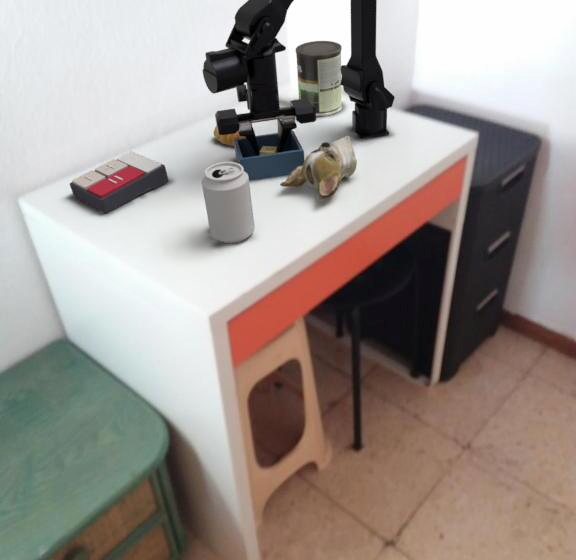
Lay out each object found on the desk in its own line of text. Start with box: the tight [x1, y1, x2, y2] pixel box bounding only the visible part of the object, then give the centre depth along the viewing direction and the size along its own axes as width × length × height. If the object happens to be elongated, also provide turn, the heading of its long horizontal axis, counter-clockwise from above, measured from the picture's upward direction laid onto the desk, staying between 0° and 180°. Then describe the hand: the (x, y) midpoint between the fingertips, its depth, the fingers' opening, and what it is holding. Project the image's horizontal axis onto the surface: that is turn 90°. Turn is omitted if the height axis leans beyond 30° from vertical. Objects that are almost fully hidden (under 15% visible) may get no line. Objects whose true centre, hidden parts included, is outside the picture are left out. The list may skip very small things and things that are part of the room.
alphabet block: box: [259, 146, 278, 155], centre depth 120 cm, size 3×3×3 cm
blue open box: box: [233, 130, 305, 181], centre depth 120 cm, size 12×10×5 cm
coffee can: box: [295, 40, 343, 117], centre depth 139 cm, size 10×10×14 cm
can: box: [201, 161, 255, 244], centre depth 98 cm, size 8×8×12 cm
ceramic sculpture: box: [279, 135, 358, 200], centre depth 111 cm, size 11×9×15 cm
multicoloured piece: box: [69, 151, 169, 214], centre depth 116 cm, size 11×4×15 cm
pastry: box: [213, 124, 245, 147], centre depth 131 cm, size 9×7×4 cm
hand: (269, 157), depth 120 cm, fingers closed on alphabet block, 4 cm apart
